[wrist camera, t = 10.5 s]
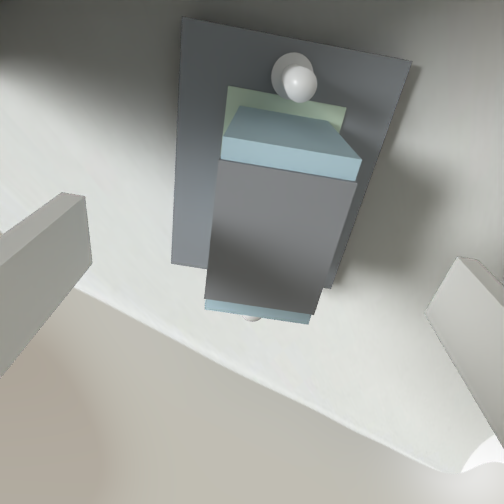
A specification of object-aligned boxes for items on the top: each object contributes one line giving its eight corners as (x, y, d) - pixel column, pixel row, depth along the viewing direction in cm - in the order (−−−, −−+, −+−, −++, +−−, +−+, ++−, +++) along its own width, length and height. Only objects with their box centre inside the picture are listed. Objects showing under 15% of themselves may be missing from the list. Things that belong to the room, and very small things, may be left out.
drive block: (223, 231, 23) (202, 311, 16) (239, 105, 18) (220, 137, 11) (297, 243, 23) (309, 327, 16) (328, 120, 19) (364, 161, 12)
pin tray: (174, 255, 25) (145, 319, 19) (187, 18, 18) (143, 0, 12) (328, 279, 26) (346, 350, 20) (404, 60, 18) (473, 64, 12)
